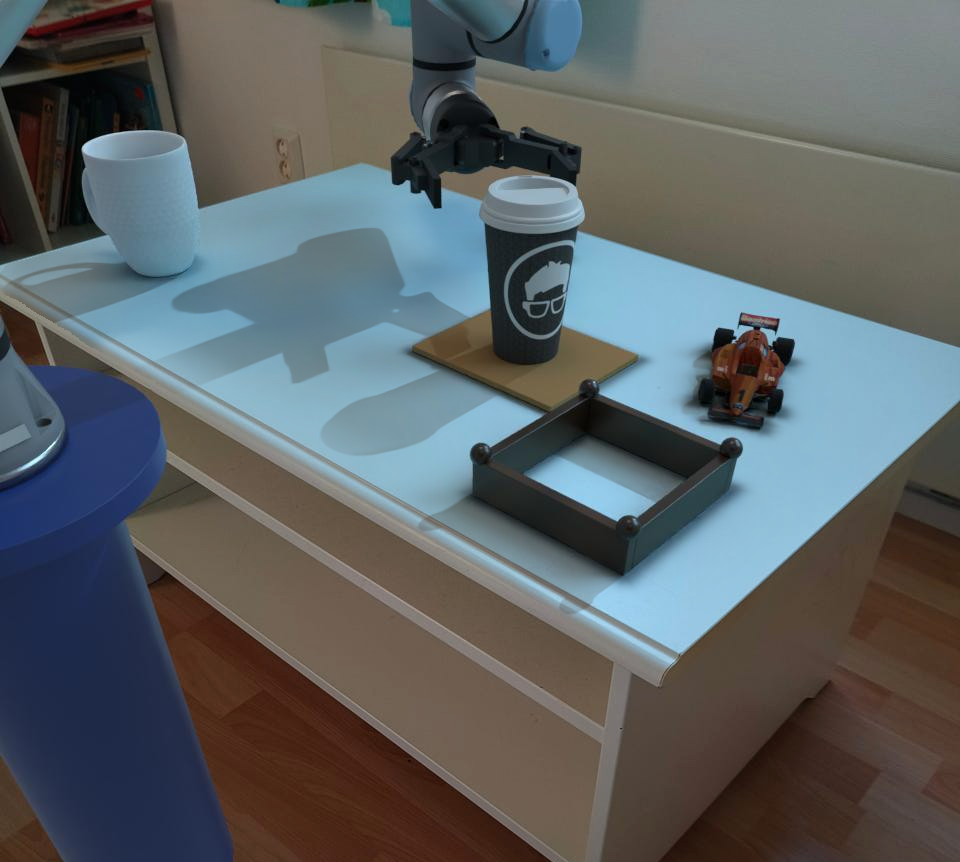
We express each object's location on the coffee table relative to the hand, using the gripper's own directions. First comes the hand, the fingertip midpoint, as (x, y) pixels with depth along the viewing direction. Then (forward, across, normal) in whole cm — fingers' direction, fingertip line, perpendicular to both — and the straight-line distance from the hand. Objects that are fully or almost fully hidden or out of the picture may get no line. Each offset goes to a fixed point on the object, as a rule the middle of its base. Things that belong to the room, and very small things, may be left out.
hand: (506, 189), depth 87 cm
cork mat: (+9, 0, -13) cm, 16 cm away
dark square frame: (+34, 0, -13) cm, 36 cm away
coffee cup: (+9, 0, -12) cm, 15 cm away
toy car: (+19, -19, -13) cm, 30 cm away
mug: (-22, +37, -13) cm, 45 cm away
